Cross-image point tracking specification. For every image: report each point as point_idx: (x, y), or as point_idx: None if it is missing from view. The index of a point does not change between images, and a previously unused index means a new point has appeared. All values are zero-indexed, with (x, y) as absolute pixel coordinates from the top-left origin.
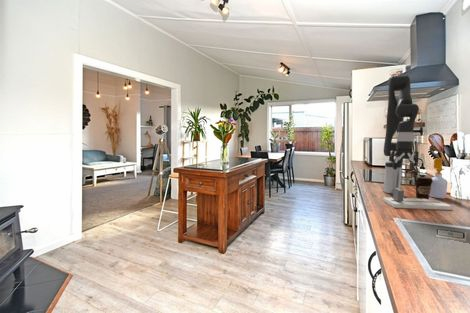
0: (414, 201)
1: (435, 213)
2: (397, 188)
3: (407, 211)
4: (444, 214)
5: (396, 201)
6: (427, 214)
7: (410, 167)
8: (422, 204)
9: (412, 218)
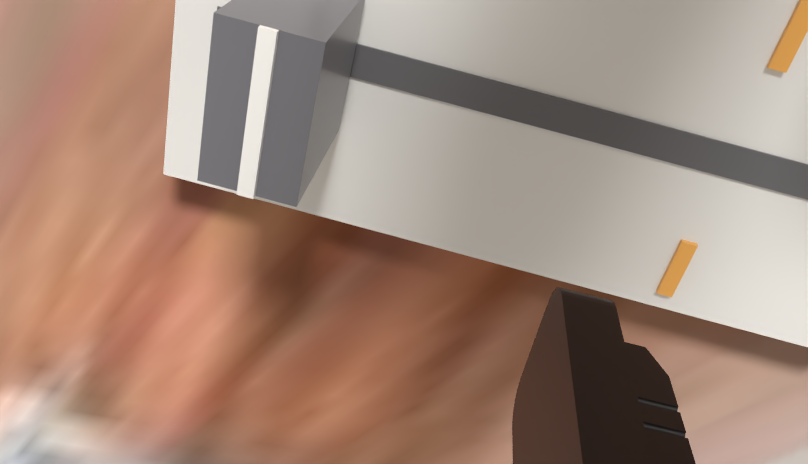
0: (542, 124)
1: (501, 380)
2: (265, 69)
3: (250, 286)
4: None
5: None
6: (388, 385)
7: (540, 398)
8: (529, 249)
9: (162, 429)
